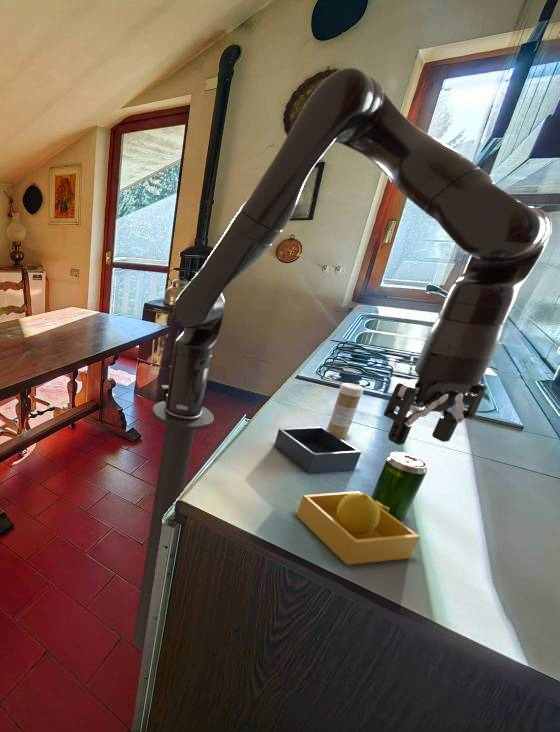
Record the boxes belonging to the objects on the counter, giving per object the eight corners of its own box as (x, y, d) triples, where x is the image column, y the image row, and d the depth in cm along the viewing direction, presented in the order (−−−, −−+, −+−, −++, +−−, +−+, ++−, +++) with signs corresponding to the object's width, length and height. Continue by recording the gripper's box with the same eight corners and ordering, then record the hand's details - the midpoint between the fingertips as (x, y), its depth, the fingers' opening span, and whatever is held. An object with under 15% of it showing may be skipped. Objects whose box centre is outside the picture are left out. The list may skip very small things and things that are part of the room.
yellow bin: (296, 515, 71) (302, 495, 69) (350, 510, 73) (358, 490, 71) (346, 564, 61) (356, 542, 59) (409, 558, 62) (420, 536, 61)
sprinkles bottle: (334, 428, 102) (350, 381, 97) (351, 437, 98) (369, 388, 93) (320, 431, 100) (336, 383, 95) (337, 440, 96) (355, 390, 91)
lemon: (345, 518, 70) (360, 481, 67) (378, 540, 65) (395, 502, 62) (322, 524, 68) (336, 487, 65) (354, 548, 63) (370, 509, 60)
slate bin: (273, 445, 94) (278, 428, 92) (316, 443, 95) (321, 426, 93) (308, 473, 83) (314, 454, 82) (354, 469, 85) (361, 451, 83)
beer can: (397, 529, 68) (424, 472, 64) (361, 511, 72) (384, 457, 68) (407, 517, 71) (433, 462, 66) (372, 501, 75) (394, 448, 71)
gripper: (469, 341, 64) (431, 428, 70) (393, 343, 62) (360, 432, 68) (527, 355, 57) (479, 450, 63) (442, 358, 55) (401, 455, 61)
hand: (417, 440), depth 66 cm, fingers open, 8 cm apart
